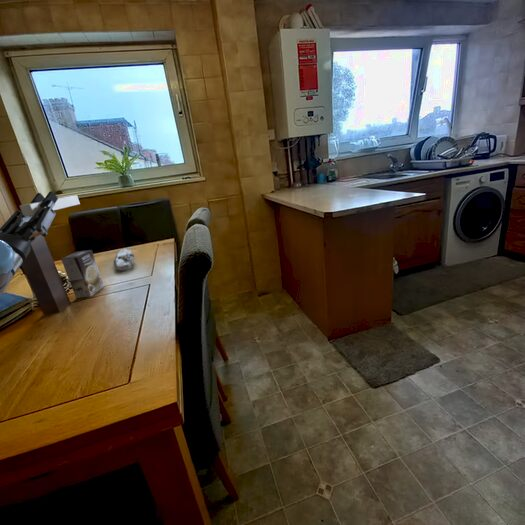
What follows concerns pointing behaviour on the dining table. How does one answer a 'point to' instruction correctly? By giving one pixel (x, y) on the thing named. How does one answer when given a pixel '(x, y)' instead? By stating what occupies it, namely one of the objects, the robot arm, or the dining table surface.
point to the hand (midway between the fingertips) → (48, 196)
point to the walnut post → (45, 278)
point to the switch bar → (60, 203)
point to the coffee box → (83, 273)
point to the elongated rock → (124, 259)
